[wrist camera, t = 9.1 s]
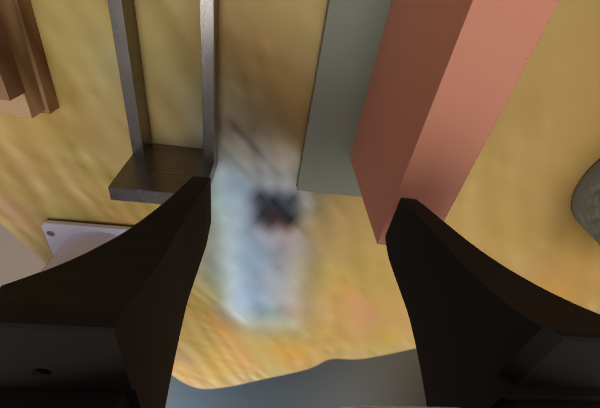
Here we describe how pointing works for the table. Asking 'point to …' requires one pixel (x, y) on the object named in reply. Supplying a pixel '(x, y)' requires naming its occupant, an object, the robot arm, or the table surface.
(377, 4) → the mat
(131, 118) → the rack
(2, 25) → the offcut stack
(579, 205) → the grey cylindrical pot
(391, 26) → the salmon pink rectangular block
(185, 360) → the table surface
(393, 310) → the table surface
